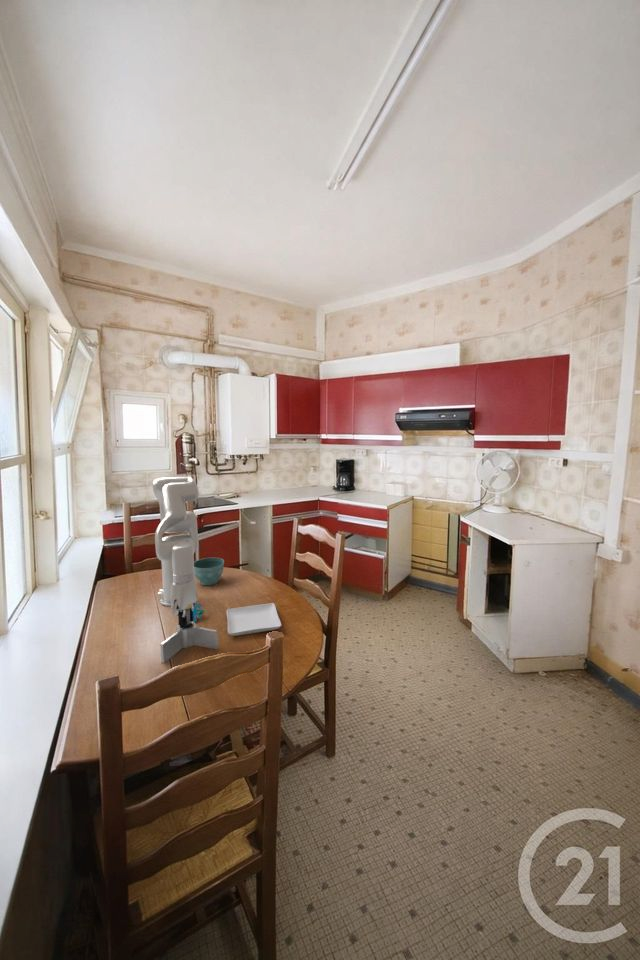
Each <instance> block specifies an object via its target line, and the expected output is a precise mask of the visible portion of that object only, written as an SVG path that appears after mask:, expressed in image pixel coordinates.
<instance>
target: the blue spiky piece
mask: <svg viewBox="0 0 640 960" xmlns="http://www.w3.org/2000/svg"><path fill="white" fill-rule="evenodd" d="M198 603H199V602H198V600H197V601H196V602H195V605H194V610H193V611H192V612H193V622H195V623H197V620H198V619H200V618H201V617H202V614H203V613H204V612H205V611H206V608H202V605H201V604H198ZM197 604H198V605H197ZM198 608H199V609H198ZM201 608H202V609H201ZM180 612H181V610H180ZM196 616H197V618H196Z"/></svg>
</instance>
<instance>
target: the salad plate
mask: <svg viewBox="0 0 640 960" xmlns="http://www.w3.org/2000/svg"><path fill="white" fill-rule="evenodd" d="M225 613H226V620H227V634H228V635H230V636H242V635H247V634H248V635H249V634H257V633H262V632H263V633H264V632H269V631H275V630H278V629H280V628H281V627H282V622H281V620H280V617H279V614H278V612H277V608H276V604H275V603H274V602H269V603H263V604H254V605H253V604H252V605H247V606H241V607H233V608H227V609H226V612H225Z"/></svg>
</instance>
